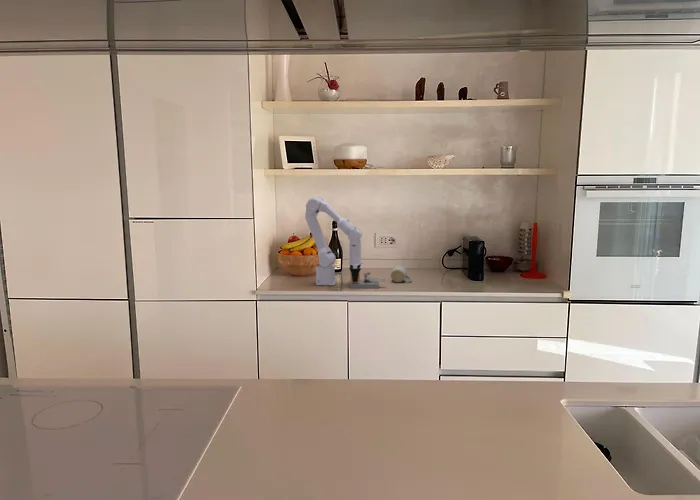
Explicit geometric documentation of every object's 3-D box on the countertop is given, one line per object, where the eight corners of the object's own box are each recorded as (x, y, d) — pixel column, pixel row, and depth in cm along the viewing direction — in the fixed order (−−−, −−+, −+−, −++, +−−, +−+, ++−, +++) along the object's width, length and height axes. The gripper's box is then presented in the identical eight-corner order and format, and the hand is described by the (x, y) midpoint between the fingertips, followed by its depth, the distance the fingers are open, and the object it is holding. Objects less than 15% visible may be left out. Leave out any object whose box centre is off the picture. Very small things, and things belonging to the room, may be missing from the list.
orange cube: (350, 282, 254) (350, 274, 254) (350, 280, 259) (350, 272, 258) (359, 282, 254) (359, 274, 253) (359, 280, 259) (359, 272, 258)
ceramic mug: (390, 282, 263) (390, 267, 262) (392, 279, 271) (392, 265, 270) (410, 284, 261) (411, 269, 260) (412, 280, 269) (412, 266, 268)
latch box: (349, 288, 250) (349, 284, 250) (349, 283, 261) (349, 279, 261) (378, 288, 250) (378, 284, 250) (377, 283, 261) (377, 279, 261)
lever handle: (382, 283, 250) (382, 275, 249) (362, 281, 254) (362, 273, 254) (385, 281, 254) (385, 273, 253) (366, 280, 258) (366, 271, 258)
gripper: (363, 255, 247) (363, 283, 249) (362, 251, 261) (362, 277, 263) (348, 255, 247) (348, 283, 249) (349, 251, 261) (349, 277, 263)
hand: (355, 280), depth 256 cm, fingers open, 6 cm apart
